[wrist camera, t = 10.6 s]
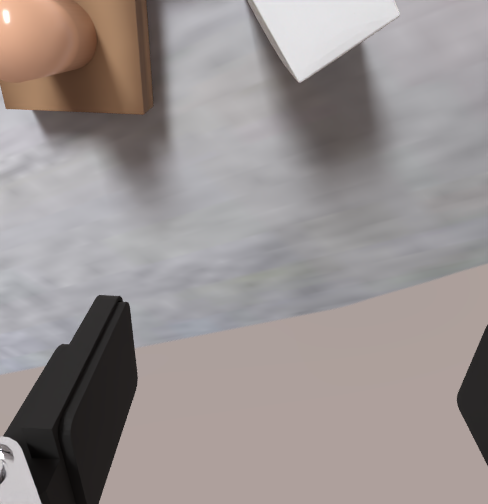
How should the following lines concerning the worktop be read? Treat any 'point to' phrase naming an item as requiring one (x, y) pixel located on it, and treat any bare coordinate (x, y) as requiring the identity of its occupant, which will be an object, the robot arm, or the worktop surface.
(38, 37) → the glossy peach capsule
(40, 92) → the walnut plinth
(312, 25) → the supplement box
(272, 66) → the worktop surface
